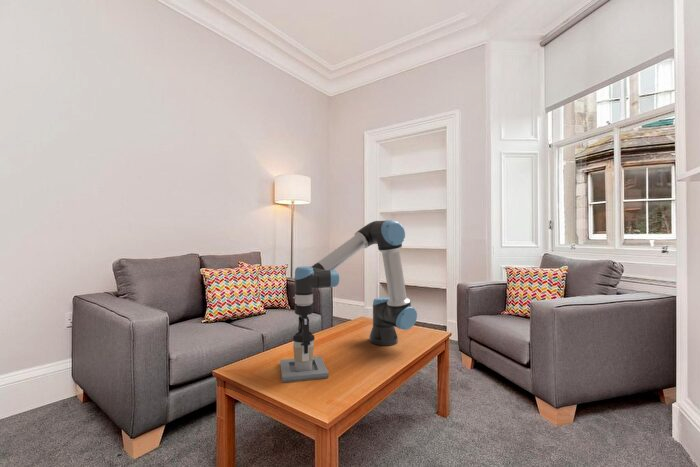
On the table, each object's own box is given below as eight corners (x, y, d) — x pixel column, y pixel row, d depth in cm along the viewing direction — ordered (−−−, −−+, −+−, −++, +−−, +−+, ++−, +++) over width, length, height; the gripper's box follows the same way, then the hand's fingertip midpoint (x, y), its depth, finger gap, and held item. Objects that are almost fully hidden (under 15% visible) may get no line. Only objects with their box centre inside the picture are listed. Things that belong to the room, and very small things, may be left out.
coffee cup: (310, 374, 133) (310, 337, 133) (289, 372, 135) (289, 335, 134) (317, 365, 142) (317, 330, 142) (296, 363, 143) (297, 329, 143)
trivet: (320, 360, 149) (320, 356, 149) (328, 377, 132) (328, 372, 132) (280, 364, 145) (280, 359, 144) (282, 382, 127) (282, 377, 127)
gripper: (292, 298, 149) (292, 345, 149) (297, 311, 125) (297, 367, 125) (308, 297, 151) (308, 343, 151) (317, 310, 127) (317, 365, 127)
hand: (303, 354), depth 138 cm, fingers open, 13 cm apart
